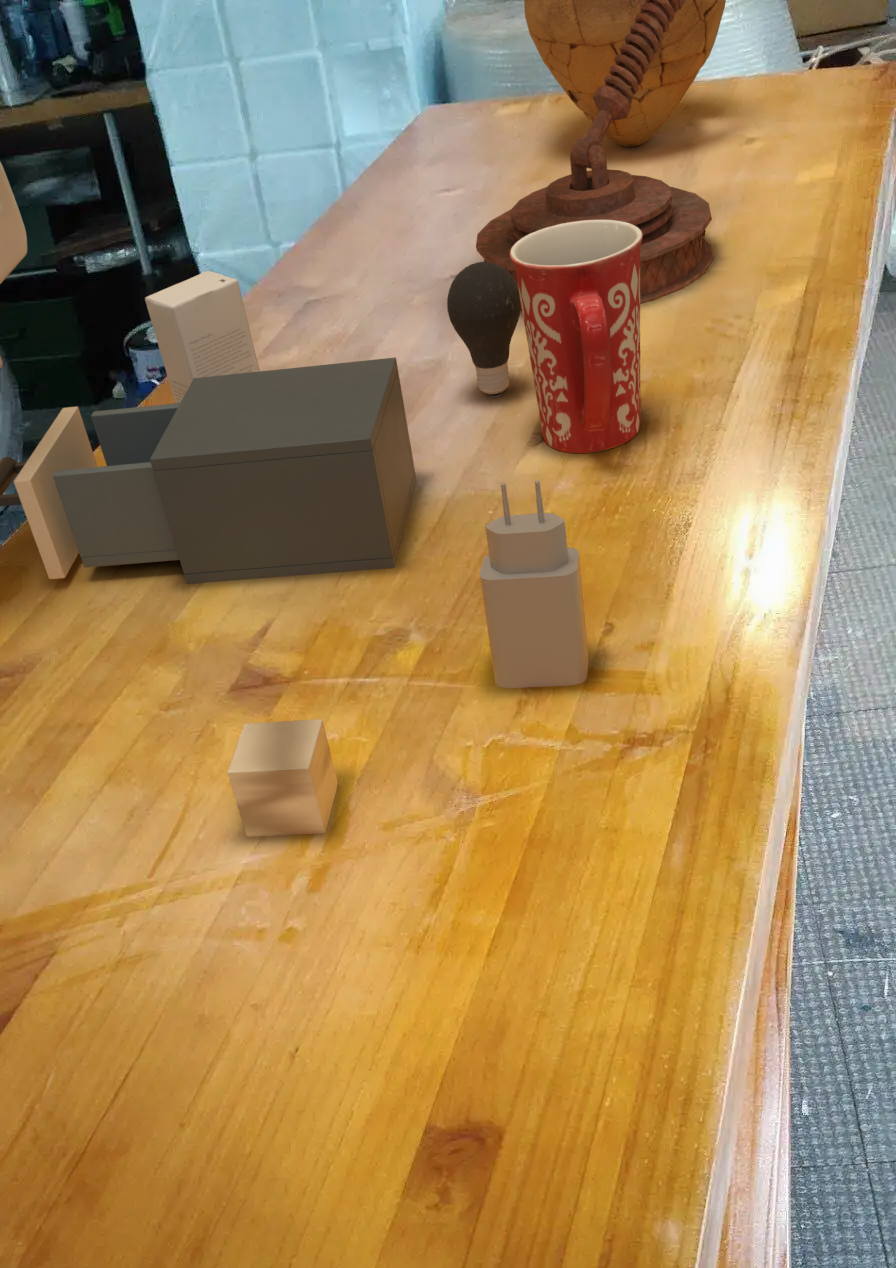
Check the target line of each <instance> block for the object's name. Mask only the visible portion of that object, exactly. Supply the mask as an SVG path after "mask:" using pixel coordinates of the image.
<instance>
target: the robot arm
mask: <svg viewBox="0 0 896 1268" xmlns="http://www.w3.org/2000/svg"><path fill="white" fill-rule="evenodd" d="M27 254H28V236H27V231H26V226H25V224H24V221H23V218H22V215H21V212H20V209H19V205H18V203H17V200H16V198H15V195H14V192H13V190H12V187H11V184H10V181H9V179H8V176H7V174H6V171H5V168H4V166H3V164H2V162H1V161H0V285H2V283H3V282H4V281H5V280H6V279H7V277H9V275H10V274H11V273H12V272H13V271H14V270H15V269H16V267H17V266H18V265H19V264H20V263H21V262H22V260H24V258H25V257H26V256H27ZM3 364H4V363H3V360H2V356H1V355H0V370H1V369H2V368H3Z"/></svg>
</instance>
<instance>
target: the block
mask: <svg viewBox="0 0 896 1268" xmlns="http://www.w3.org/2000/svg"><path fill="white" fill-rule="evenodd" d="M227 777H228V780H229V783H230V787H231V789H232V792H233V797H234V800H235V803H236V805H237V809H238V811H239V812H238V813H239V816H240V818H241V822H242V825H243V828H244V833H245V836H246V837H247V838H249V837H253V838H254V837H271V836H274V837H275V836H292V835H293V836H295V835H296V836H297V835H315V834H316V835H317V834H326V832H327V828H328V825H329V820H330V817H331V813H332V809H333V806H334V801H335V798H336V793H337V789H338V785H339V782H338V778H337V773H336V770H335V765H334V761H333V756H332V753H331V748H330V744H329V740H328V737H327V732H326V728H325V723H324V719H323V718H317V719H316V718H315V719H314V718H313V719H299V720H283V721H266V722H250V723H243V726H242V729H241V732H240V734H239V738H238V741H237V743H236V746H235V749H234V752H233V755H232V758H231V761H230V764H229V767H228V770H227Z"/></svg>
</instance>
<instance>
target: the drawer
mask: <svg viewBox="0 0 896 1268" xmlns="http://www.w3.org/2000/svg"><path fill="white" fill-rule="evenodd" d="M179 405H180V403H175V402H174V403H165V404H154V405H146V406H145V405H144V406H135V407H125V408H124V407H123V408H114V409H105V410H96V411H95V410H94V411H93V412H92V414H91V415H90V419H91V421H92V424H93V427H94V430H95V433H96V436H97V439H98V443H99V446H100V449H101V452H102V455H103V459H104V462H105V464H106V465H105V466H98V464H97V461H96V458H95V455H94V451H93V449H92V444H91V442H90V439H89V435H88V433H87V430H86V427H85V424H84V420H83V418H82V415H81V411H80V408H79V406H69V407H62V409H61V410H60V412H59V413H58V415H57V416H56V418H55V419H54V420H53V422H52V424H51V425H50V426H49V428H48V429H47V430H46V432H45V434H44V435H43V437H42V438H41V440H40V441H39V443H38V444H37V446H36V447H35V449H34V450H33V451H32V453H31V454H30V456H29V458H28V459H27V460H26V461H20V462H17V461H16V460H15V459H14V458H12V457H10V456H5V457H2V458H1V459H0V507H7V506H8V507H10V506H22V508H23V512H24V514H25V516H26V519H27V522H28V525H29V527H30V528H29V529H30V530H31V533H32V536H33V539H34V542H35V544H36V547H37V550H38V552H39V555H40V557H41V561H42V563H43V566H44V569H45V571H46V574H47V578H48V579H49V580H57V579H65V578H66V577H67V576H68V574H69V571H70V569H72V566H73V564H74V563H75V561H76V559H77V557H78V555H79V557H80V559H81V562H82V565H83V567H84V568H98V567H110V566H121V565H135V564H146V563H157V562H158V563H159V562H171V561H180V559H179V556H178V552H177V549H176V546H175V542H174V539H173V536H172V532H171V529H170V525H169V522H168V519H167V515H166V512H165V509H164V505H163V502H162V498H161V495H160V492H159V488H158V485H157V481H156V478H155V475H154V471H153V469H152V465H151V462H150V458H151V456H152V454H153V453H154V451H155V449H156V447H157V445H158V443H159V442H160V440H161V438H162V436H163V434H164V432H165V430H166V429H167V427H168V425H169V423H170V421H171V419H172V418H173V416H174V414H175V412H176V410H177V408H178V407H179ZM12 482H13V484H14V487H15V490H16V492H17V493H8V494H5V492H6V491H7V489H8V488H9V486H10V485H11V483H12Z"/></svg>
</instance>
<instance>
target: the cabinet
mask: <svg viewBox="0 0 896 1268" xmlns="http://www.w3.org/2000/svg"><path fill="white" fill-rule="evenodd" d="M398 368H399V367H398V362H397V357H385V358H376V359H367V360H357V361H348V362H347V361H346V362H338V363H329V364H319V365H309V366H300V367H299V366H298V367H290V368H289V367H288V368H281V369H270V370H260V372H250V373H240V374H231V375H221V376H211V377H202V378H194V379H193V381H192V383H191V384H190V386H189V388H188V390H187V392H186V394H185V395H184V397H183V399H182V401H181V403H180V405H179V407H178V408H177V410H176V412H175V414H174V416H173V418H172V419H171V421H170V423H169V425H168V427H167V429H166V430H165V432H164V434H163V436H162V438H161V440H160V442H159V443H158V445H157V447H156V449H155V451H154V453H153V454H152V456H151V458H150V462H151V465H152V469H153V471H154V475H155V478H156V481H157V485H158V488H159V492H160V495H161V498H162V502H163V505H164V509H165V512H166V515H167V519H168V522H169V525H170V529H171V532H172V536H173V539H174V542H175V546H176V549H177V552H178V556H179V559H180V560H179V562H180V566H181V569H182V572H183V577H184V580H185V583H186V585H192V584H205V583H219V582H232V581H233V582H234V581H246V580H259V579H268V578H269V579H272V578H282V577H283V578H284V577H294V576H295V577H296V576H307V575H308V576H309V575H321V574H322V575H323V574H334V573H336V574H337V573H347V572H348V573H349V572H360V571H373V570H384V569H385V570H386V569H394V568H396V563H397V559H398V556H399V551H400V549H401V548H400V547H401V544H402V540H403V535H404V532H405V528H406V523H407V521H408V520H407V519H408V516H409V512H410V508H411V504H412V501H413V496H414V493H415V488H416V485H417V476H416V475H417V474H416V470H415V469H416V468H415V463H414V456H413V452H412V451H413V450H412V445H411V439H410V434H409V433H410V432H409V427H408V421H407V415H406V408H405V403H404V397H403V390H402V385H401V379H400V374H399V373H400V372H399V369H398Z"/></svg>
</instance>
